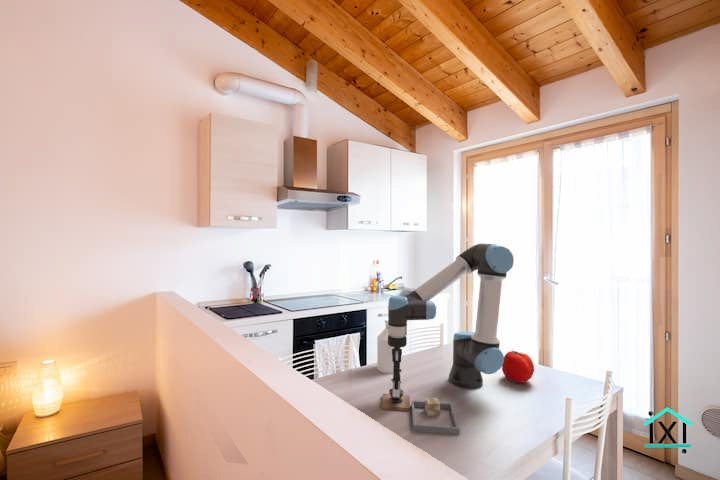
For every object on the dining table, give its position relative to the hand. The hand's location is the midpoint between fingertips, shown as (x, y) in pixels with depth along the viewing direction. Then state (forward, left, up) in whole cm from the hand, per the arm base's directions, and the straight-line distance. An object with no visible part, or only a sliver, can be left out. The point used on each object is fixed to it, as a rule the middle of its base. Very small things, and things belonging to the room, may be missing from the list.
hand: (396, 392), depth 142 cm
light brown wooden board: (0, 0, -5) cm, 5 cm away
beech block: (-14, +5, -5) cm, 16 cm away
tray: (-14, +10, -5) cm, 18 cm away
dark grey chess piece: (0, 0, -3) cm, 3 cm away
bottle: (+4, -37, -5) cm, 38 cm away
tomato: (-57, -31, -5) cm, 65 cm away
